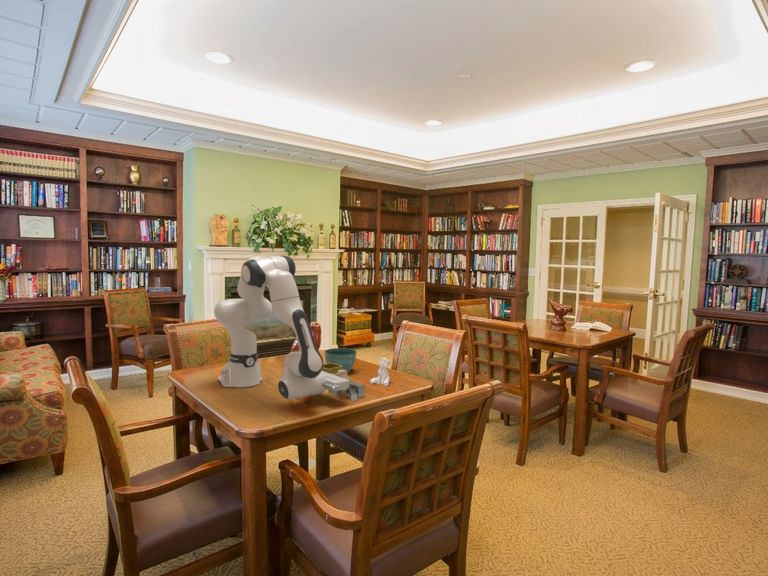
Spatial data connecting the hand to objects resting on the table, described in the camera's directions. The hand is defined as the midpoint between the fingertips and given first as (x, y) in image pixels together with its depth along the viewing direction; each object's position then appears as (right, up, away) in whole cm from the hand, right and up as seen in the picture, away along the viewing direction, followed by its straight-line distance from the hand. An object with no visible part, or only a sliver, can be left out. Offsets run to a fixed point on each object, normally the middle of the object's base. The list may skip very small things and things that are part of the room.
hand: (343, 377), depth 198 cm
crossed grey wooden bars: (+2, -8, +2) cm, 8 cm away
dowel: (-1, -8, 0) cm, 8 cm away
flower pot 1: (-8, -7, +16) cm, 20 cm away
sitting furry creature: (+16, -7, +21) cm, 28 cm away
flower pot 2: (-5, -5, +40) cm, 40 cm away
